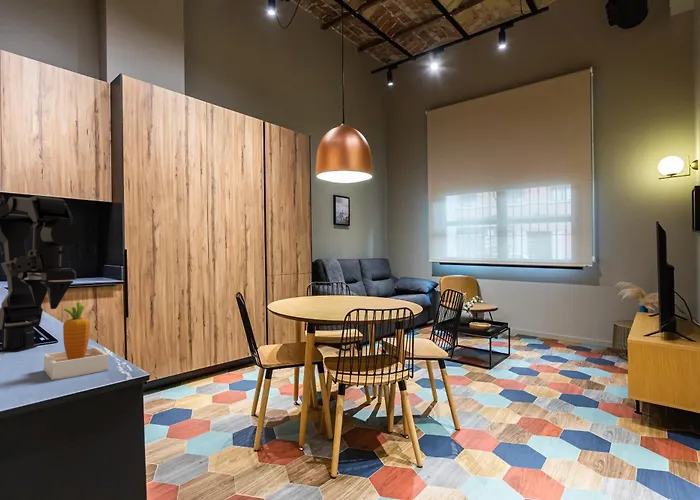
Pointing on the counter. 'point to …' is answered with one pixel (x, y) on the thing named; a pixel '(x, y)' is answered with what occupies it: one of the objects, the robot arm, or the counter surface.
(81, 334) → the carrot
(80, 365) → the beige open box
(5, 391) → the counter surface
